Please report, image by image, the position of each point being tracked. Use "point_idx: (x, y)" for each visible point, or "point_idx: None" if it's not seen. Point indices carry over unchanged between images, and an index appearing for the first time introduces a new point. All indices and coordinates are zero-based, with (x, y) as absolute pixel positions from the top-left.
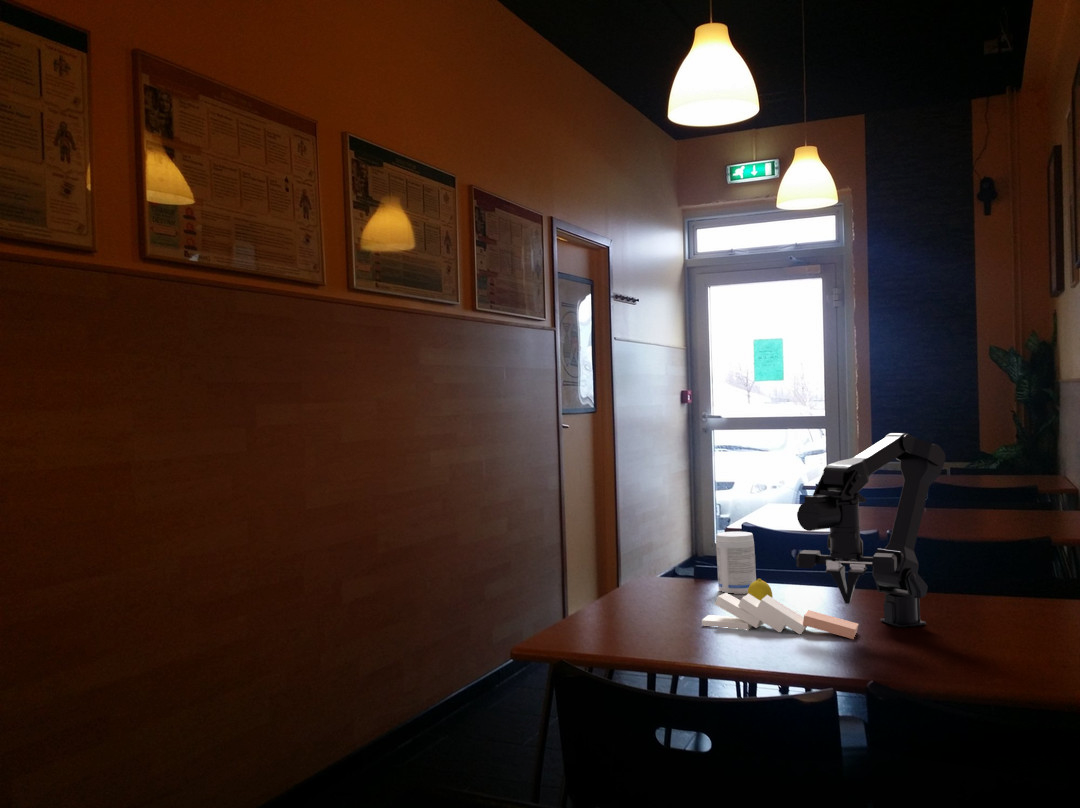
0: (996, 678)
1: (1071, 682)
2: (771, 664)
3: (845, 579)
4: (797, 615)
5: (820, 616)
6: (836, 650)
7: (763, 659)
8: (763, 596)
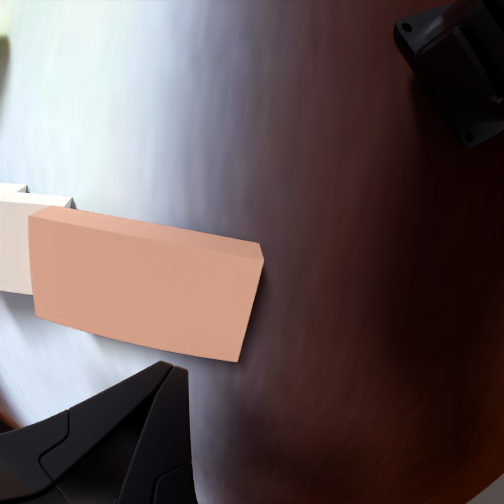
0: (432, 497)
1: (499, 476)
2: None
3: (74, 474)
4: (17, 227)
5: (81, 282)
6: None
7: None
8: None
